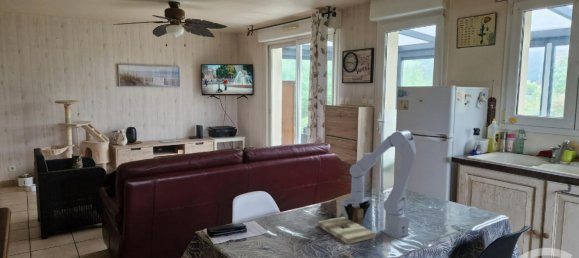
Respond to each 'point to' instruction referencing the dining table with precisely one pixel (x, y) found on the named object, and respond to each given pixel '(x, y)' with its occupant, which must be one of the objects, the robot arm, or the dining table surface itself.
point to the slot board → (346, 230)
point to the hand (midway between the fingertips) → (356, 219)
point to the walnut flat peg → (358, 215)
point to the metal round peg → (342, 211)
